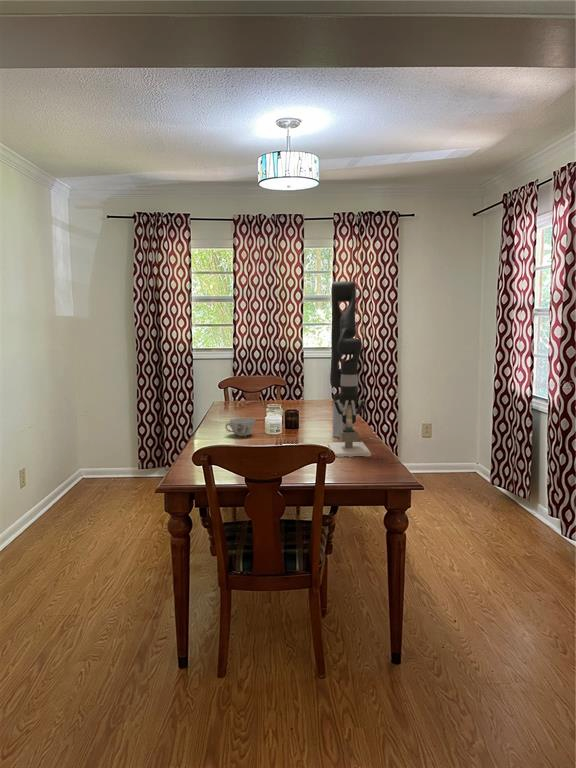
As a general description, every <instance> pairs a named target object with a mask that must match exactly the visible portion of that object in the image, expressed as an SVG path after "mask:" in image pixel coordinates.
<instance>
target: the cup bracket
mask: <svg viewBox="0 0 576 768" xmlns="http://www.w3.org/2000/svg"><path fill="white" fill-rule="evenodd" d="M339 440H340V441H339V442H338V441H337V442H334V441H333V442H327V447H328V449H329V448H331V449H332V450H333V451H334V452H335V454H336V456H337V457H336V458H349V457H350V458H353V456H364V457H372V452H371V451H370V450H369V448H368V447H367V445H366V444H365V443H364V441H359V431H358V430H357V429H356V428H353V432H345V429H339ZM344 456H345V457H344ZM346 456H348V457H346Z"/></svg>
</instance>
